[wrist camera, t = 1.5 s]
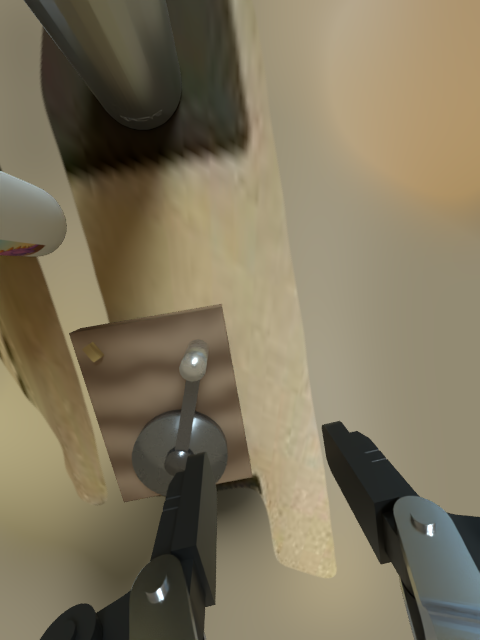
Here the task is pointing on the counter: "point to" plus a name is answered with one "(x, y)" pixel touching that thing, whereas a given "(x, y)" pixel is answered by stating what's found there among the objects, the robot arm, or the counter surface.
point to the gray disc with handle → (180, 432)
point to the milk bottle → (28, 219)
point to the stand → (158, 384)
